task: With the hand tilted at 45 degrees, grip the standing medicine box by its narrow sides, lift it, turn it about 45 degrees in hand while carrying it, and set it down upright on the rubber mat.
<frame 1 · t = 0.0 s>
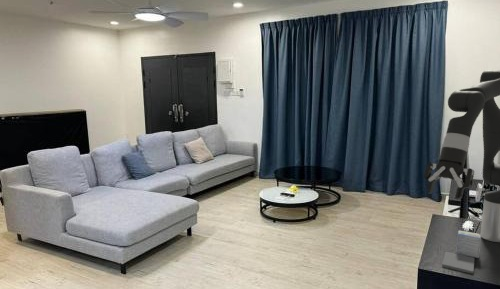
hand: (443, 196, 119), 31 cm above the table, tool tilted 20°, fingers open, 8 cm apart
medicine box: (467, 254, 146), on the table
rubber mat: (458, 263, 138), on the table
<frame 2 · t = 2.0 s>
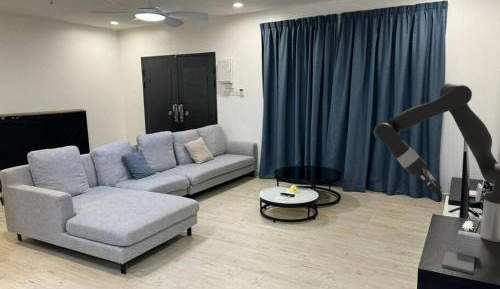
hand: (439, 191, 146), 25 cm above the table, tool tilted 45°, fingers open, 8 cm apart
nothing on the table moved.
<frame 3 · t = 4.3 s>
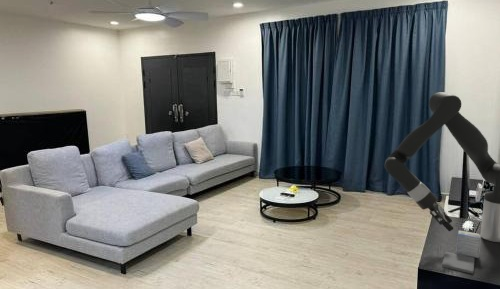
hand: (450, 226, 147), 11 cm above the table, tool tilted 45°, fingers open, 8 cm apart
nothing on the table moved.
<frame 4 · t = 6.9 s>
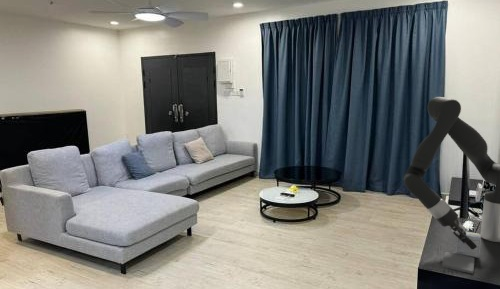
hand: (473, 245, 144), 4 cm above the table, tool tilted 45°, fingers closed on medicine box, 4 cm apart
medicine box: (467, 254, 146), on the table, touching gripper
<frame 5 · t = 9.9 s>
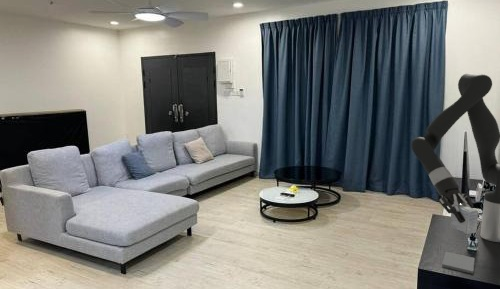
hand: (468, 220, 134), 18 cm above the table, tool tilted 45°, fingers closed on medicine box, 4 cm apart
medicine box: (462, 230, 136), point 13 cm above the table, touching gripper
when the fingers open (6 cm above the table, at t = 13.2 s): medicine box drops 1 cm, resting on rubber mat.
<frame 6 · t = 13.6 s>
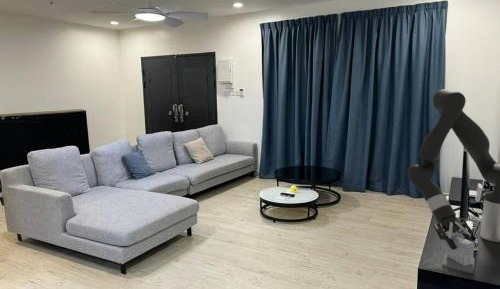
hand: (463, 247, 136), 7 cm above the table, tool tilted 45°, fingers open, 8 cm apart
medicine box: (459, 261, 138), point 1 cm above the table, touching rubber mat
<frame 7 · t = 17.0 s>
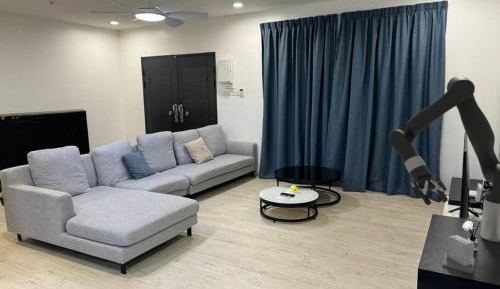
hand: (437, 202, 146), 20 cm above the table, tool tilted 45°, fingers open, 8 cm apart
nothing on the table moved.
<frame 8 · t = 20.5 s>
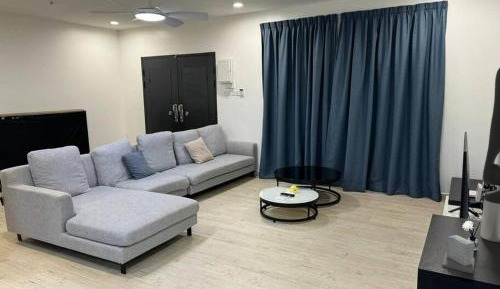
nothing on the table moved.
at the end: medicine box inside the target area on the rubber mat (0.3 cm from its centre), point 0.8 cm above the rubber mat's base; medicine box tilted 0°; the gripper is holding nothing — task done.
